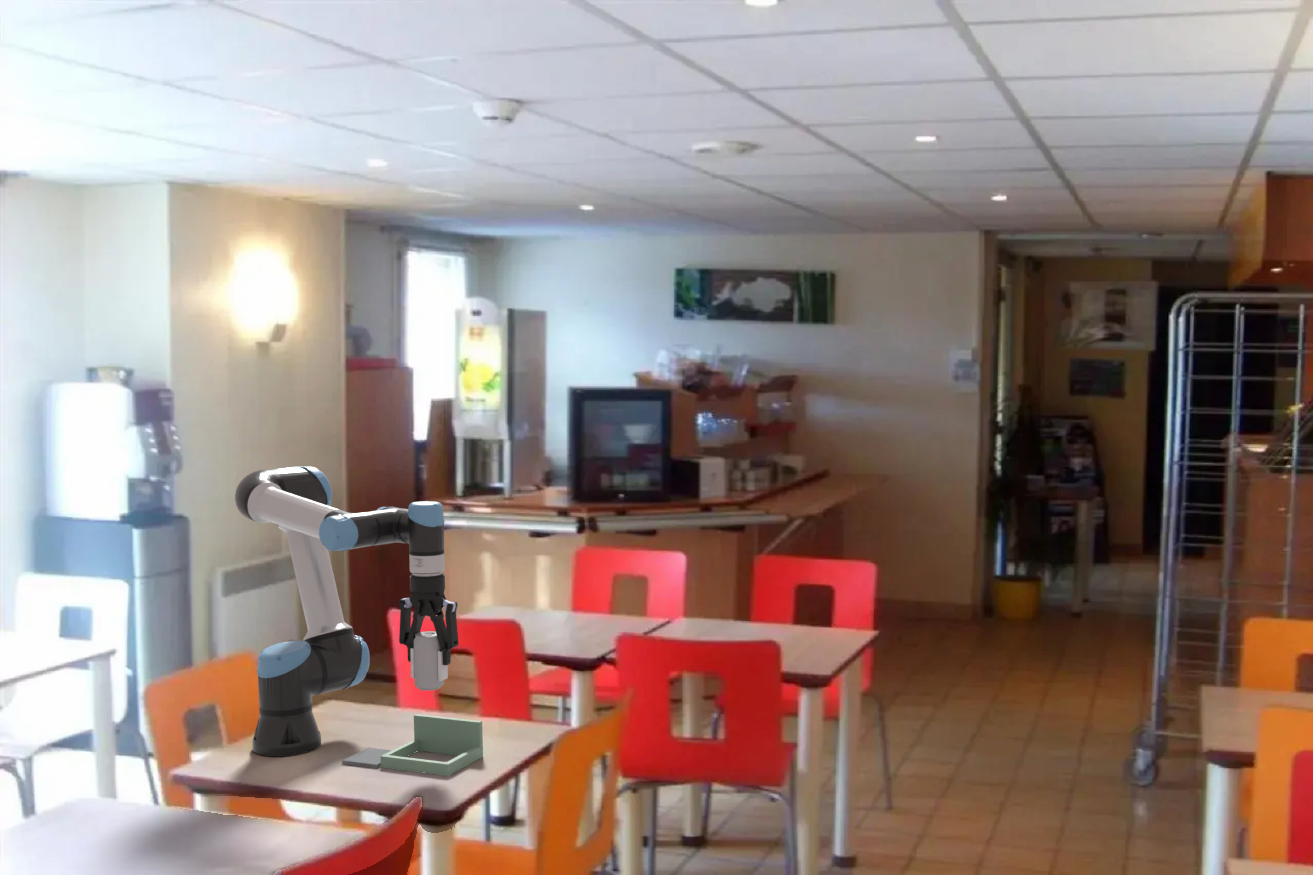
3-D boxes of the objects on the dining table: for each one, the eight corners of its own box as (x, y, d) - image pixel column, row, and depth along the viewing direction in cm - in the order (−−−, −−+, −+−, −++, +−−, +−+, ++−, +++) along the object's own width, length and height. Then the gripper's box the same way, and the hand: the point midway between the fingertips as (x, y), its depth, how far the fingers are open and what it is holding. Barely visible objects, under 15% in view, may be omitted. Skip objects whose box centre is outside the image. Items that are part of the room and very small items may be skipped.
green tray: (380, 767, 292) (379, 731, 291) (417, 748, 305) (416, 714, 305) (448, 776, 285) (447, 738, 285) (483, 756, 298) (482, 721, 298)
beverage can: (447, 684, 297) (446, 630, 296) (440, 691, 291) (439, 636, 290) (419, 683, 298) (418, 630, 297) (411, 691, 291) (409, 636, 291)
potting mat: (342, 763, 295) (342, 760, 295) (369, 751, 304) (368, 747, 304) (376, 768, 291) (376, 764, 291) (402, 755, 301) (402, 751, 300)
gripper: (380, 573, 293) (382, 678, 294) (456, 578, 285) (458, 686, 287) (399, 567, 300) (401, 670, 301) (474, 573, 292) (476, 678, 294)
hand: (429, 677), depth 294 cm, fingers closed on beverage can, 6 cm apart
